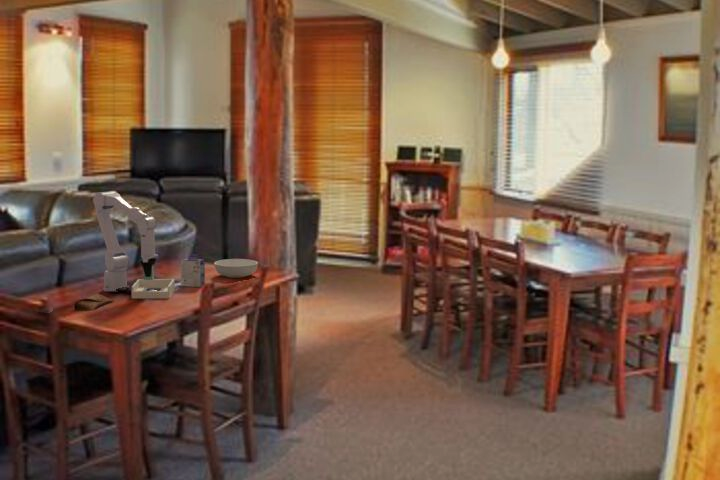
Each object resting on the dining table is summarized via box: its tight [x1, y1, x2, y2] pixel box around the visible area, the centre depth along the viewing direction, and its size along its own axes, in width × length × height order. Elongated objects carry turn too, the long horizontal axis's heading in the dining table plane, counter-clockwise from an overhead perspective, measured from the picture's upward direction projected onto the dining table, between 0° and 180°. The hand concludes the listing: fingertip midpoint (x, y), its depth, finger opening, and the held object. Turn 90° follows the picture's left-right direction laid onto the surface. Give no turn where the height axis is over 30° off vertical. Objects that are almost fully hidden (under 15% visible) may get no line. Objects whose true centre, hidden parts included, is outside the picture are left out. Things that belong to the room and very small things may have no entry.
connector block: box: [142, 264, 155, 280], centre depth 376 cm, size 4×4×6 cm
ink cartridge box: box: [180, 253, 206, 288], centre depth 396 cm, size 10×6×14 cm, turn 78°
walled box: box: [131, 278, 176, 299], centre depth 379 cm, size 16×16×5 cm
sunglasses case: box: [74, 292, 114, 312], centre depth 358 cm, size 18×7×7 cm, turn 168°
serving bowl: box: [213, 258, 259, 279], centre depth 418 cm, size 21×21×7 cm
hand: (149, 275), depth 377 cm, fingers closed on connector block, 4 cm apart
